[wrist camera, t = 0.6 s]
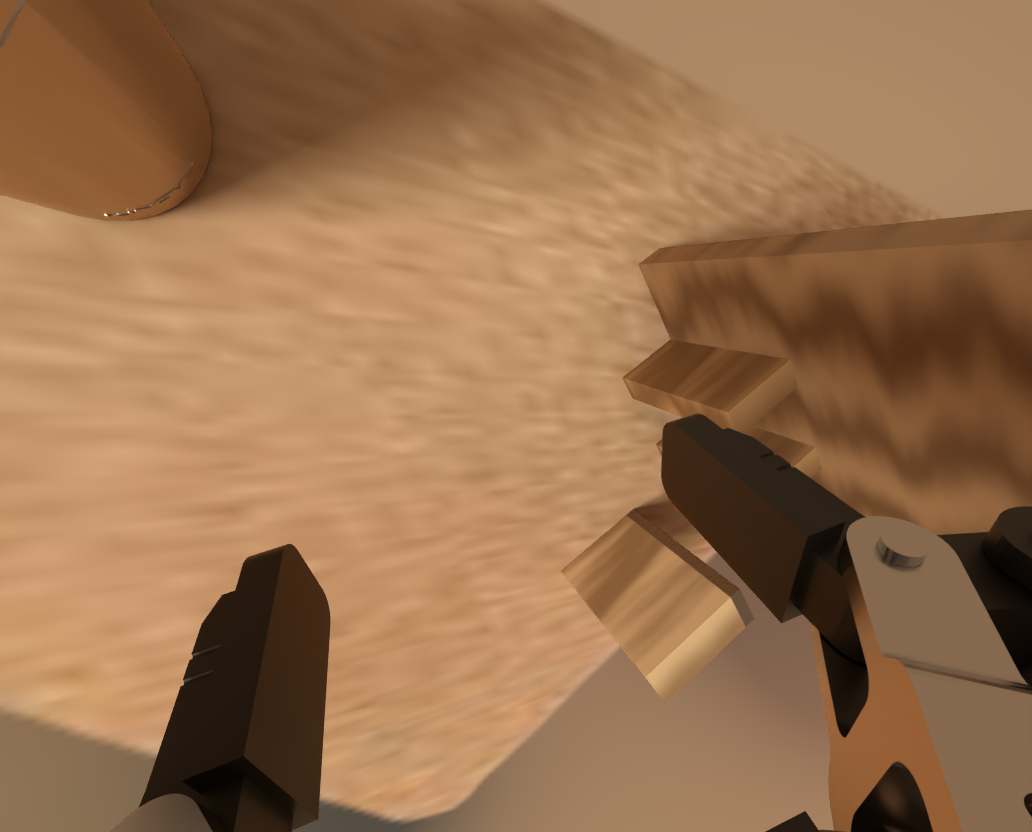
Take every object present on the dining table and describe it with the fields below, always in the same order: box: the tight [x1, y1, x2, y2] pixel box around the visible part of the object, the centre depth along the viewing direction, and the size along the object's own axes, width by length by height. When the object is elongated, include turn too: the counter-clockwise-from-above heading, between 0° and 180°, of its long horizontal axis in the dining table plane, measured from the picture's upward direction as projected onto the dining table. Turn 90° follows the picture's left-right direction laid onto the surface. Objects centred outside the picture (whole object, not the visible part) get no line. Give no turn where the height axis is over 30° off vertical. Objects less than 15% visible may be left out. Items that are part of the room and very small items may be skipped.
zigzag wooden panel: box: [623, 210, 1032, 535], centre depth 27 cm, size 22×7×20 cm, turn 32°
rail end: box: [561, 509, 754, 703], centre depth 33 cm, size 3×8×11 cm, turn 122°
